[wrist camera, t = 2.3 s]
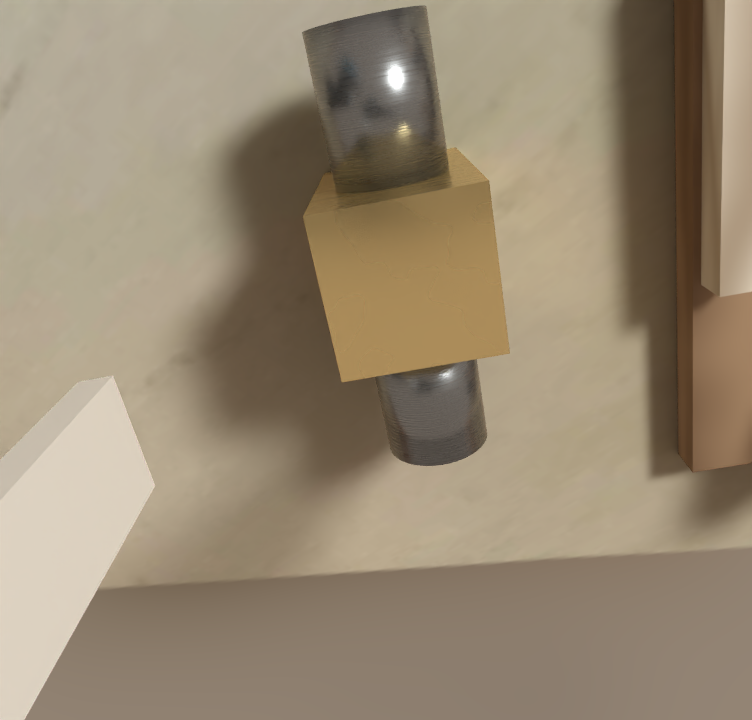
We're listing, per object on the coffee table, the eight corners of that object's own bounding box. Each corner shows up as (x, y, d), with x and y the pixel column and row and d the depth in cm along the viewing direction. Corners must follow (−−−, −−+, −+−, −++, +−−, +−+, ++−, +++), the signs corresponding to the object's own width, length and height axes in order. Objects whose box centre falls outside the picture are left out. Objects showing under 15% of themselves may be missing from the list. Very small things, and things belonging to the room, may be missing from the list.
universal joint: (372, 394, 29) (370, 505, 21) (296, 43, 23) (259, 32, 16) (486, 374, 28) (525, 481, 21) (437, 13, 23) (465, -13, 16)
